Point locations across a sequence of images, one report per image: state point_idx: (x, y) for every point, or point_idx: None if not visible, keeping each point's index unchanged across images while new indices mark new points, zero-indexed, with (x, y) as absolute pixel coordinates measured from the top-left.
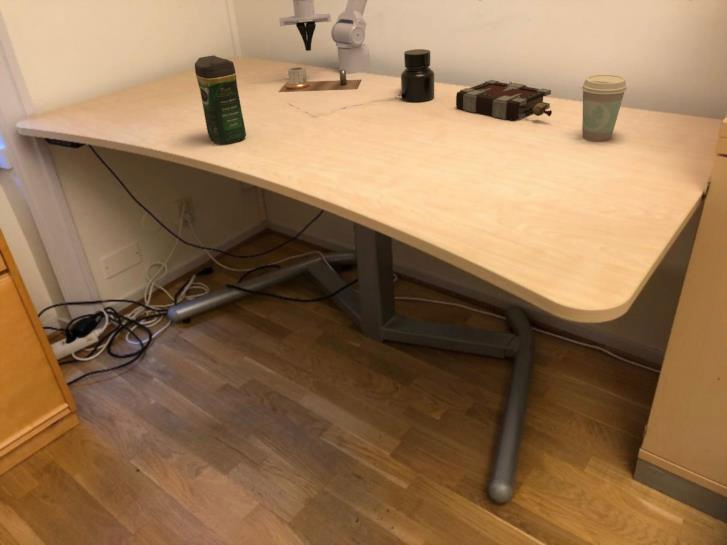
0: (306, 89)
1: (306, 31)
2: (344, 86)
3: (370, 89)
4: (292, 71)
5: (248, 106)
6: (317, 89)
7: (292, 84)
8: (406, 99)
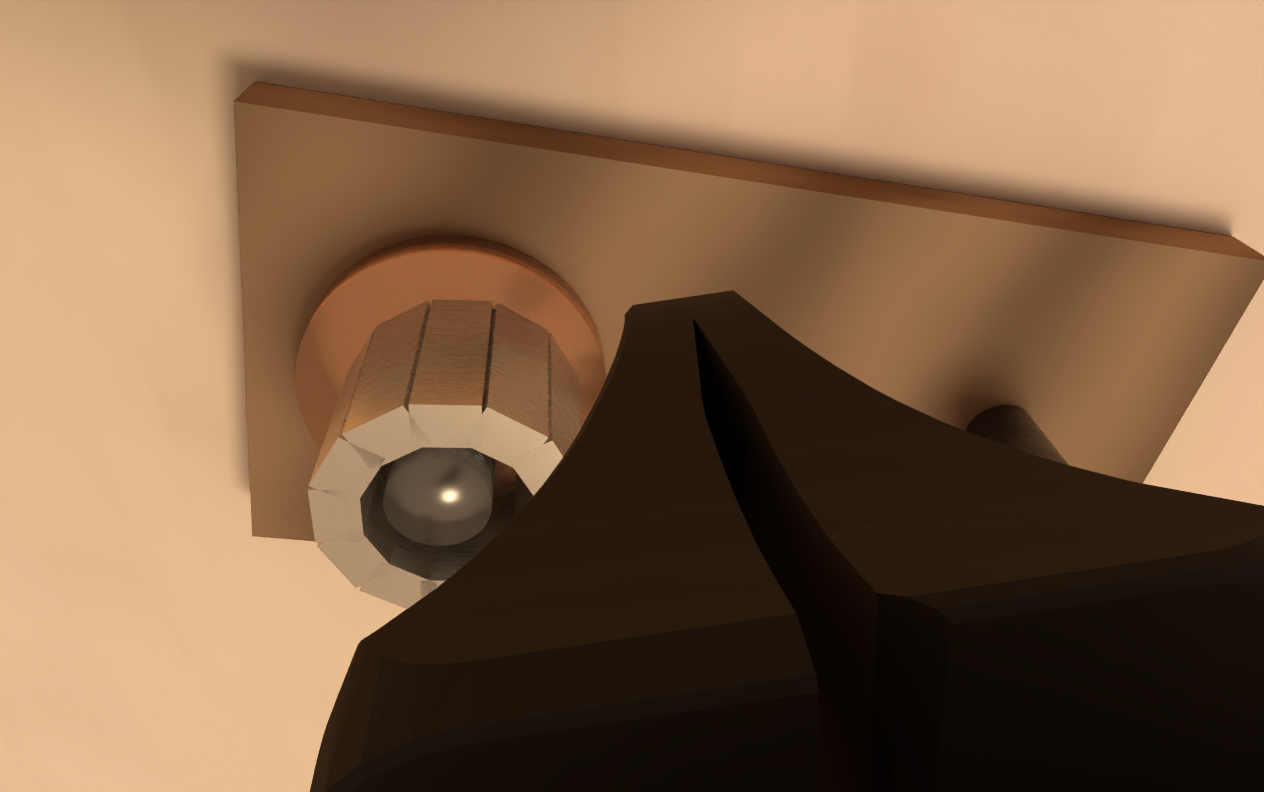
0: None
1: (793, 489)
2: None
3: (1222, 438)
4: (406, 603)
5: (47, 693)
6: None
7: None
8: None
